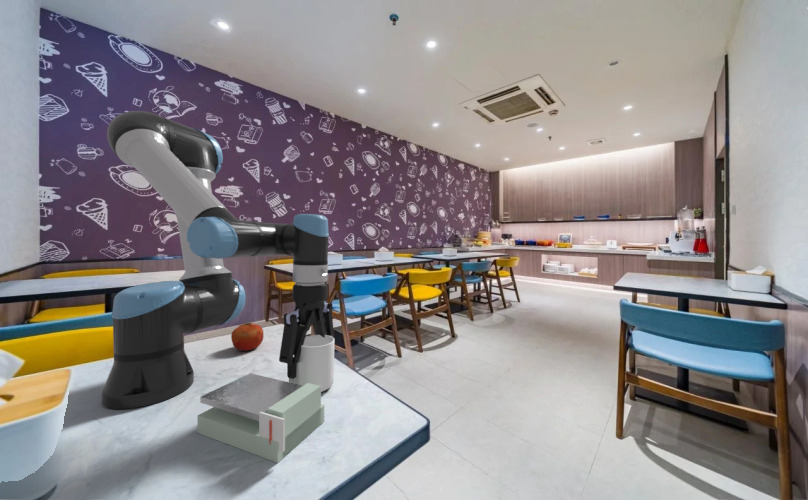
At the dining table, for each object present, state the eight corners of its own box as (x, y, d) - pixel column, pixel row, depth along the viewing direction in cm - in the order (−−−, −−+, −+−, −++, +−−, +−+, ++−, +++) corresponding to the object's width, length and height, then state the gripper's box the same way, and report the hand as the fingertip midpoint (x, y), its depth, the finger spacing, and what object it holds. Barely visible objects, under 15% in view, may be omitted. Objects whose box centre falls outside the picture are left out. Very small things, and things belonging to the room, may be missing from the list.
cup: (310, 398, 60) (311, 349, 60) (278, 380, 67) (279, 337, 67) (341, 383, 67) (342, 339, 66) (309, 368, 74) (310, 329, 74)
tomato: (241, 356, 84) (241, 328, 84) (224, 350, 89) (224, 324, 89) (271, 346, 92) (271, 321, 92) (254, 341, 97) (254, 317, 96)
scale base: (197, 432, 50) (197, 392, 50) (252, 400, 60) (252, 367, 60) (282, 464, 43) (282, 417, 43) (328, 422, 53) (328, 384, 53)
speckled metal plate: (200, 413, 50) (200, 396, 50) (250, 387, 60) (250, 373, 60) (260, 434, 45) (260, 415, 45) (304, 402, 54) (304, 386, 54)
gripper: (288, 291, 55) (287, 410, 55) (350, 279, 74) (348, 367, 75) (259, 288, 58) (258, 401, 58) (325, 277, 77) (324, 362, 78)
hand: (309, 382), depth 67 cm, fingers closed on cup, 8 cm apart
